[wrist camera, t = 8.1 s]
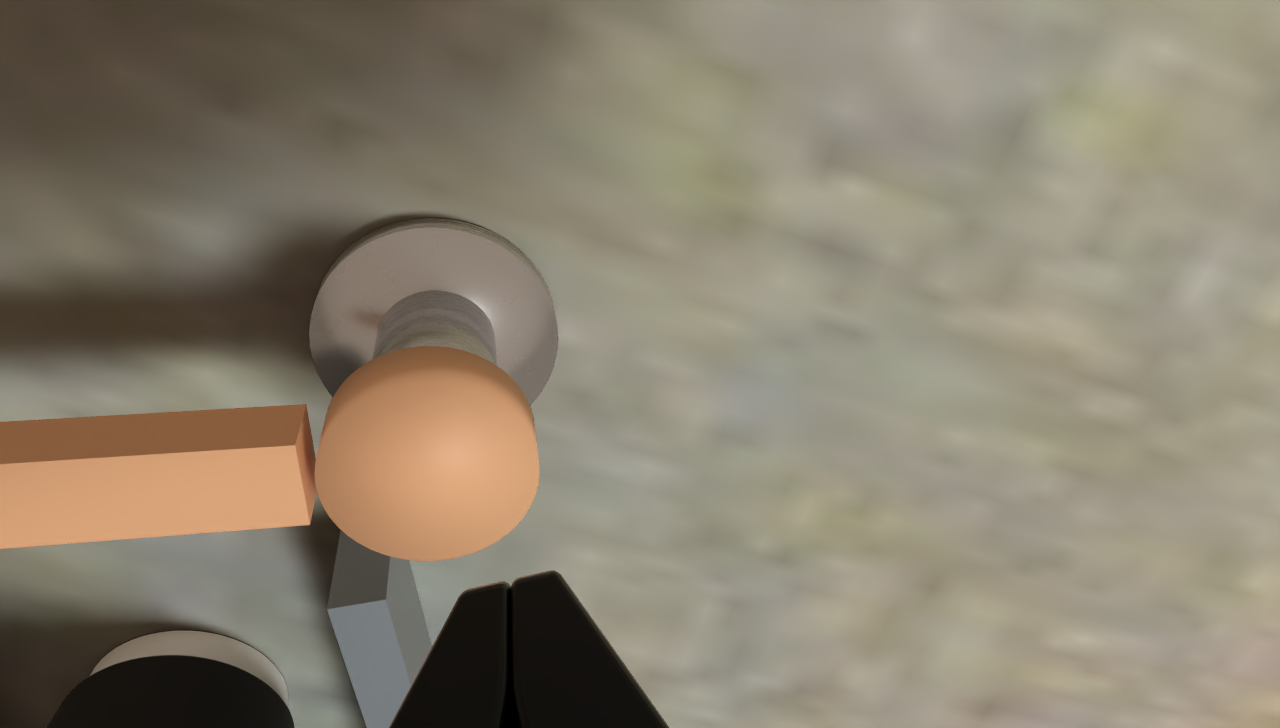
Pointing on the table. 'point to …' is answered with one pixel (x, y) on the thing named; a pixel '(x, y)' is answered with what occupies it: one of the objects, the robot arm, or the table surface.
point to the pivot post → (434, 302)
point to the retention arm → (291, 464)
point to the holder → (377, 627)
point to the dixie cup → (179, 686)
